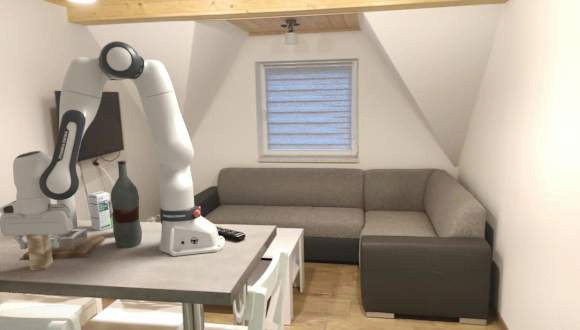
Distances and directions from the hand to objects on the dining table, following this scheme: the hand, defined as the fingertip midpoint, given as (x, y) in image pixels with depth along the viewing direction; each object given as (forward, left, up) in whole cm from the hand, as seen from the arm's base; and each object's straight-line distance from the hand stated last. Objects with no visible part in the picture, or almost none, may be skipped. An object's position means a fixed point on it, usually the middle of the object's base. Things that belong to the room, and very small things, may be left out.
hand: (39, 248), depth 132 cm
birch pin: (0, 0, -6) cm, 6 cm away
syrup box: (-4, -38, -6) cm, 39 cm away
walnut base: (0, -15, -6) cm, 16 cm away
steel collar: (-1, -15, -5) cm, 16 cm away
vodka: (-21, -18, -6) cm, 28 cm away
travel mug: (+8, -36, -6) cm, 37 cm away
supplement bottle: (-15, -30, -6) cm, 34 cm away
